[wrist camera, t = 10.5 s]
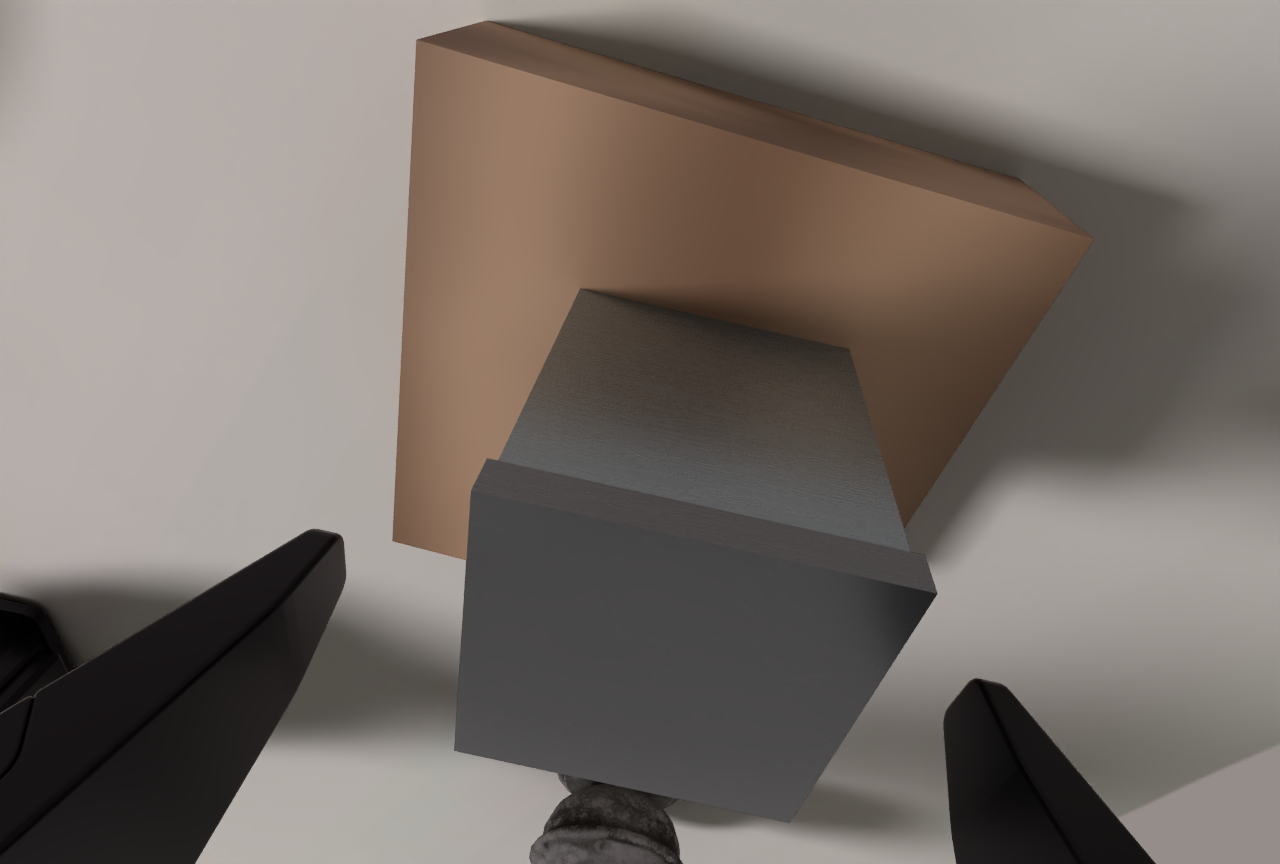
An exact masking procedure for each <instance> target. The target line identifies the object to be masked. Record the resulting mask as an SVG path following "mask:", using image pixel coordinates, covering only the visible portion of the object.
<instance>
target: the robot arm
mask: <svg viewBox="0 0 1280 864" xmlns="http://www.w3.org/2000/svg"><path fill="white" fill-rule="evenodd" d="M345 580H346V564H345V551H344V541H343V538H342V536H341V535H339V534H337V533H333V532H329V531H324V530H320V529H311V530H308V531H306V532H304V533H302V534H300V535H299V536H297V537H295V538H294V539H292V540H290V541H289V542H287V543H285V544H284V545H282V546H280V547H279V548H277V549H275V550H274V551H272V552H270V553H269V554H267V555H265V556H264V557H262V558H260V559H259V560H257V561H255V562H253V563H252V564H250V565H248V566H247V567H245V568H243V569H242V570H240V571H238V572H237V573H235V574H233V575H232V576H230V577H228V578H227V579H225V580H223V581H222V582H220V583H218V584H217V585H215V586H213V587H212V588H210V589H208V590H206V591H205V592H203V593H201V594H200V595H198V596H196V597H195V598H193V599H191V600H190V601H188V602H186V603H185V604H183V605H181V606H180V607H178V608H176V609H175V610H173V611H171V612H170V613H168V614H166V615H165V616H163V617H161V618H159V619H158V620H156V621H154V622H153V623H151V624H149V625H148V626H146V627H144V628H143V629H141V630H139V631H138V632H136V633H134V634H133V635H131V636H129V637H128V638H126V639H124V640H123V641H121V642H119V643H118V644H116V645H114V646H112V647H111V648H109V649H107V650H106V651H104V652H102V653H101V654H99V655H97V656H96V657H94V658H92V659H91V660H89V661H87V662H86V663H84V664H82V665H81V666H79V667H77V668H76V669H74V670H73V669H72V667H71V665H70V663H69V660H68V658H67V656H66V654H65V652H64V650H63V648H62V646H61V644H60V642H59V640H58V637H57V635H56V633H55V631H54V629H53V627H52V625H51V623H50V621H49V619H48V617H47V615H46V614H45V613H44V612H43V611H41V610H40V609H38V608H36V607H33V606H30V605H26V604H21V603H16V602H12V601H7V600H3V599H0V864H195V863H196V861H197V859H198V858H199V856H200V854H201V853H202V851H203V849H204V848H205V846H206V844H207V842H208V841H209V839H210V837H211V836H212V834H213V832H214V831H215V829H216V827H217V826H218V824H219V822H220V820H221V819H222V817H223V815H224V814H225V812H226V810H227V809H228V807H229V805H230V804H231V802H232V800H233V799H234V797H235V795H236V793H237V792H238V790H239V788H240V787H241V785H242V783H243V782H244V780H245V778H246V777H247V775H248V773H249V771H250V770H251V768H252V766H253V765H254V763H255V761H256V760H257V758H258V756H259V755H260V753H261V751H262V749H263V748H264V746H265V744H266V743H267V741H268V739H269V738H270V736H271V734H272V733H273V731H274V729H275V727H276V726H277V724H278V722H279V721H280V719H281V717H282V716H283V714H284V712H285V711H286V709H287V707H288V705H289V704H290V702H291V700H292V698H293V696H294V695H295V693H296V691H297V689H298V687H299V685H300V683H301V681H302V679H303V677H304V674H305V672H306V670H307V668H308V666H309V663H310V661H311V659H312V657H313V655H314V652H315V650H316V648H317V646H318V644H319V641H320V639H321V637H322V635H323V632H324V630H325V628H326V626H327V624H328V621H329V619H330V617H331V615H332V613H333V610H334V608H335V606H336V604H337V601H338V599H339V597H340V595H341V593H342V590H343V587H344V584H345ZM943 725H944V741H945V755H946V769H947V783H948V797H949V811H950V822H951V832H952V840H953V846H954V853H955V858H956V864H1156V863H1155V862H1154V861H1153V860H1152V859H1151V858H1150V856H1149V855H1148V854H1147V853H1146V851H1145V850H1144V849H1143V848H1142V847H1141V846H1140V844H1139V843H1138V842H1137V841H1136V840H1135V838H1134V837H1133V836H1132V835H1131V834H1130V833H1129V831H1128V830H1127V829H1126V828H1125V827H1124V825H1123V824H1122V823H1121V822H1120V821H1119V819H1118V818H1117V817H1116V816H1115V815H1114V813H1113V812H1112V811H1111V810H1110V809H1109V807H1108V806H1107V805H1106V804H1105V803H1104V802H1103V800H1102V799H1101V798H1100V797H1099V796H1098V794H1097V793H1096V792H1095V791H1094V790H1093V788H1092V787H1091V786H1090V785H1089V784H1088V783H1087V781H1086V780H1085V779H1084V778H1083V777H1082V775H1081V774H1080V773H1079V772H1078V771H1077V770H1076V768H1075V767H1074V766H1073V765H1072V764H1071V762H1070V761H1069V760H1068V759H1067V758H1066V756H1065V755H1064V754H1063V753H1062V752H1061V751H1060V749H1059V748H1058V747H1057V746H1056V745H1055V743H1054V742H1053V741H1052V740H1051V739H1050V737H1049V736H1048V735H1047V734H1046V733H1045V732H1044V730H1043V729H1042V728H1041V727H1040V726H1039V724H1038V723H1037V722H1036V721H1035V720H1034V718H1033V717H1032V716H1031V715H1030V714H1029V713H1028V711H1027V710H1026V709H1025V708H1024V707H1023V705H1022V704H1021V703H1020V702H1019V701H1018V699H1017V698H1016V697H1015V696H1014V695H1013V694H1012V692H1011V691H1010V690H1009V689H1008V688H1007V687H1006V686H1004V685H1002V684H1000V683H997V682H992V681H988V680H983V679H978V678H975V679H973V680H971V681H969V682H968V683H967V685H966V686H965V687H964V688H963V690H962V691H961V692H960V693H959V695H958V696H957V697H956V698H955V700H954V701H953V702H952V703H951V705H950V706H949V707H948V709H947V711H946V713H945V716H944V724H943Z"/></svg>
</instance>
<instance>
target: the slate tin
mask: <svg viewBox="0 0 1280 864" xmlns="http://www.w3.org/2000/svg"><path fill="white" fill-rule="evenodd" d="M936 595H937V591H936V587H935V584H934V581H933V578H932V575H931V572H930V569H929V566H928V563H927V560H926V557H925V555H923V554H918V553H914V552H911V551H910V547H909V544H908V541H907V537H906V534H905V531H904V528H903V524H902V521H901V518H900V514H899V511H898V508H897V504H896V501H895V498H894V495H893V491H892V488H891V485H890V481H889V478H888V475H887V471H886V468H885V465H884V462H883V458H882V455H881V452H880V448H879V445H878V442H877V438H876V435H875V432H874V429H873V425H872V422H871V419H870V415H869V412H868V409H867V405H866V402H865V399H864V396H863V392H862V389H861V386H860V382H859V379H858V376H857V372H856V369H855V366H854V363H853V359H852V356H851V353H850V349H848V348H843V347H839V346H834V345H830V344H825V343H821V342H817V341H812V340H808V339H803V338H799V337H794V336H790V335H786V334H781V333H777V332H772V331H768V330H763V329H759V328H754V327H750V326H746V325H741V324H737V323H732V322H728V321H723V320H719V319H715V318H710V317H706V316H701V315H697V314H692V313H688V312H683V311H679V310H675V309H670V308H666V307H661V306H657V305H652V304H648V303H643V302H639V301H635V300H630V299H626V298H621V297H617V296H612V295H608V294H604V293H599V292H595V291H590V290H586V289H581V288H580V290H579V292H578V294H577V296H576V298H575V300H574V302H573V304H572V306H571V308H570V311H569V313H568V315H567V317H566V319H565V321H564V323H563V325H562V327H561V329H560V332H559V334H558V336H557V338H556V340H555V342H554V344H553V346H552V348H551V350H550V352H549V355H548V357H547V359H546V361H545V363H544V365H543V367H542V369H541V371H540V373H539V376H538V378H537V380H536V382H535V384H534V386H533V388H532V390H531V392H530V394H529V397H528V399H527V401H526V403H525V405H524V407H523V409H522V411H521V413H520V415H519V417H518V420H517V422H516V424H515V426H514V428H513V430H512V432H511V434H510V436H509V438H508V441H507V443H506V445H505V447H504V449H503V451H502V453H501V455H500V457H499V459H498V460H494V459H489V458H487V459H486V461H485V463H484V465H483V467H482V469H481V471H480V473H479V475H478V477H477V479H476V481H475V483H474V485H473V487H472V489H471V496H470V511H469V527H468V543H467V558H466V574H465V590H464V605H463V621H462V637H461V652H460V668H459V684H458V699H457V715H456V731H455V746H454V751H458V752H462V753H467V754H472V755H476V756H481V757H486V758H490V759H495V760H500V761H504V762H509V763H513V764H518V765H523V766H527V767H532V768H537V769H541V770H546V771H551V772H555V773H560V774H565V775H569V776H574V777H579V778H583V779H588V780H592V781H597V782H602V783H606V784H611V785H616V786H620V787H625V788H630V789H634V790H639V791H644V792H648V793H653V794H658V795H662V796H667V797H671V798H676V799H681V800H685V801H690V802H695V803H699V804H704V805H709V806H713V807H718V808H723V809H727V810H732V811H737V812H741V813H746V814H751V815H755V816H760V817H764V818H769V819H774V820H778V821H783V822H788V823H790V822H791V820H792V819H793V817H794V816H795V814H796V812H797V811H798V809H799V808H800V806H801V805H802V803H803V802H804V800H805V798H806V797H807V795H808V794H809V792H810V791H811V789H812V788H813V786H814V785H815V783H816V781H817V780H818V778H819V777H820V775H821V774H822V772H823V771H824V769H825V767H826V766H827V764H828V763H829V761H830V760H831V758H832V757H833V755H834V753H835V752H836V750H837V749H838V747H839V746H840V744H841V743H842V741H843V740H844V738H845V736H846V735H847V733H848V732H849V730H850V729H851V727H852V726H853V724H854V722H855V721H856V719H857V718H858V716H859V715H860V713H861V712H862V710H863V708H864V707H865V705H866V704H867V702H868V701H869V699H870V698H871V696H872V695H873V693H874V691H875V690H876V688H877V687H878V685H879V684H880V682H881V681H882V679H883V677H884V676H885V674H886V673H887V671H888V670H889V668H890V667H891V665H892V663H893V662H894V660H895V659H896V657H897V656H898V654H899V653H900V651H901V650H902V648H903V646H904V645H905V643H906V642H907V640H908V639H909V637H910V636H911V634H912V632H913V631H914V629H915V628H916V626H917V625H918V623H919V622H920V620H921V618H922V617H923V615H924V614H925V612H926V611H927V609H928V608H929V606H930V605H931V603H932V601H933V600H934V598H935V597H936Z"/></svg>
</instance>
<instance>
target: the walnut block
mask: <svg viewBox="0 0 1280 864" xmlns="http://www.w3.org/2000/svg"><path fill="white" fill-rule="evenodd" d="M1093 241H1094V238H1092V237H1091V236H1090V235H1089V234H1087V233H1086V232H1085V231H1084V230H1082V229H1081V228H1080V227H1079V226H1077V225H1076V224H1075V223H1074V222H1072V221H1071V220H1070V219H1069V218H1067V217H1066V216H1065V215H1064V214H1062V213H1061V212H1060V211H1059V210H1057V209H1056V208H1055V207H1054V206H1052V205H1051V204H1050V203H1049V202H1047V201H1046V200H1045V199H1044V198H1042V197H1041V196H1040V195H1039V194H1037V193H1036V192H1035V191H1034V190H1032V189H1031V188H1030V187H1029V186H1027V185H1026V184H1025V183H1024V182H1022V181H1021V180H1020V179H1017V178H1013V177H1010V176H1007V175H1003V174H1000V173H997V172H993V171H990V170H986V169H983V168H980V167H976V166H973V165H970V164H966V163H963V162H960V161H956V160H953V159H949V158H946V157H943V156H939V155H936V154H933V153H929V152H926V151H923V150H919V149H916V148H912V147H909V146H906V145H902V144H899V143H896V142H892V141H889V140H885V139H882V138H879V137H875V136H872V135H869V134H865V133H862V132H859V131H855V130H852V129H848V128H845V127H842V126H838V125H835V124H832V123H828V122H825V121H822V120H818V119H815V118H811V117H808V116H805V115H801V114H798V113H795V112H791V111H788V110H785V109H781V108H778V107H774V106H771V105H768V104H764V103H761V102H758V101H754V100H751V99H747V98H744V97H741V96H737V95H734V94H731V93H727V92H724V91H721V90H717V89H714V88H710V87H707V86H704V85H700V84H697V83H694V82H690V81H687V80H684V79H680V78H677V77H673V76H670V75H667V74H663V73H660V72H657V71H653V70H650V69H647V68H643V67H640V66H636V65H633V64H630V63H626V62H623V61H620V60H616V59H613V58H609V57H606V56H603V55H599V54H596V53H593V52H589V51H586V50H583V49H579V48H576V47H572V46H569V45H566V44H562V43H559V42H556V41H552V40H549V39H546V38H542V37H539V36H535V35H532V34H529V33H525V32H522V31H519V30H515V29H512V28H509V27H505V26H502V25H498V24H495V23H492V22H488V21H483V22H480V23H476V24H472V25H469V26H465V27H461V28H458V29H454V30H450V31H447V32H443V33H439V34H436V35H432V36H429V37H425V38H421V39H418V40H417V41H416V62H415V83H414V103H413V124H412V145H411V166H410V187H409V208H408V229H407V249H406V270H405V291H404V312H403V333H402V354H401V374H400V395H399V416H398V437H397V458H396V479H395V500H394V520H393V541H394V542H398V543H402V544H406V545H410V546H413V547H417V548H421V549H425V550H429V551H433V552H437V553H441V554H444V555H448V556H452V557H456V558H460V559H464V560H466V558H467V543H468V527H469V511H470V496H471V489H472V487H473V485H474V483H475V481H476V479H477V477H478V475H479V473H480V471H481V469H482V467H483V465H484V463H485V461H486V459H487V458H489V459H494V460H498V459H499V457H500V455H501V453H502V451H503V449H504V447H505V445H506V443H507V441H508V438H509V436H510V434H511V432H512V430H513V428H514V426H515V424H516V422H517V420H518V417H519V415H520V413H521V411H522V409H523V407H524V405H525V403H526V401H527V399H528V397H529V394H530V392H531V390H532V388H533V386H534V384H535V382H536V380H537V378H538V376H539V373H540V371H541V369H542V367H543V365H544V363H545V361H546V359H547V357H548V355H549V352H550V350H551V348H552V346H553V344H554V342H555V340H556V338H557V336H558V334H559V332H560V329H561V327H562V325H563V323H564V321H565V319H566V317H567V315H568V313H569V311H570V308H571V306H572V304H573V302H574V300H575V298H576V296H577V294H578V292H579V290H580V288H581V289H586V290H590V291H595V292H599V293H604V294H608V295H612V296H617V297H621V298H626V299H630V300H635V301H639V302H643V303H648V304H652V305H657V306H661V307H666V308H670V309H675V310H679V311H683V312H688V313H692V314H697V315H701V316H706V317H710V318H715V319H719V320H723V321H728V322H732V323H737V324H741V325H746V326H750V327H754V328H759V329H763V330H768V331H772V332H777V333H781V334H786V335H790V336H794V337H799V338H803V339H808V340H812V341H817V342H821V343H825V344H830V345H834V346H839V347H843V348H848V349H850V353H851V356H852V359H853V363H854V366H855V369H856V372H857V376H858V379H859V382H860V386H861V389H862V392H863V396H864V399H865V402H866V405H867V409H868V412H869V415H870V419H871V422H872V425H873V429H874V432H875V435H876V438H877V442H878V445H879V448H880V452H881V455H882V458H883V462H884V465H885V468H886V471H887V475H888V478H889V481H890V485H891V488H892V491H893V495H894V498H895V501H896V504H897V508H898V511H899V514H900V518H901V521H902V524H903V528H905V527H906V525H907V523H908V522H909V520H910V519H911V517H912V516H913V514H914V513H915V511H916V510H917V508H918V507H919V505H920V504H921V502H922V501H923V499H924V498H925V496H926V495H927V493H928V492H929V490H930V489H931V487H932V485H933V484H934V482H935V481H936V479H937V478H938V476H939V475H940V473H941V472H942V470H943V469H944V467H945V466H946V464H947V463H948V461H949V460H950V458H951V457H952V455H953V454H954V452H955V450H956V449H957V447H958V446H959V444H960V443H961V441H962V440H963V438H964V437H965V435H966V434H967V432H968V431H969V429H970V428H971V426H972V425H973V423H974V422H975V420H976V419H977V417H978V416H979V414H980V412H981V411H982V409H983V408H984V406H985V405H986V403H987V402H988V400H989V399H990V397H991V396H992V394H993V393H994V391H995V390H996V388H997V387H998V385H999V384H1000V382H1001V381H1002V379H1003V378H1004V376H1005V374H1006V373H1007V371H1008V370H1009V368H1010V367H1011V365H1012V364H1013V362H1014V361H1015V359H1016V358H1017V356H1018V355H1019V353H1020V352H1021V350H1022V349H1023V347H1024V346H1025V344H1026V343H1027V341H1028V340H1029V338H1030V336H1031V335H1032V333H1033V332H1034V330H1035V329H1036V327H1037V326H1038V324H1039V323H1040V321H1041V320H1042V318H1043V317H1044V315H1045V314H1046V312H1047V311H1048V309H1049V308H1050V306H1051V305H1052V303H1053V302H1054V300H1055V298H1056V297H1057V295H1058V294H1059V292H1060V291H1061V289H1062V288H1063V286H1064V285H1065V283H1066V282H1067V280H1068V279H1069V277H1070V276H1071V274H1072V273H1073V271H1074V270H1075V268H1076V267H1077V265H1078V264H1079V262H1080V260H1081V259H1082V257H1083V256H1084V254H1085V253H1086V251H1087V250H1088V248H1089V247H1090V245H1091V244H1092V242H1093Z"/></svg>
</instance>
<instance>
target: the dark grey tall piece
mask: <svg viewBox="0 0 1280 864" xmlns="http://www.w3.org/2000/svg"><path fill="white" fill-rule="evenodd" d="M558 777H559V780H560V781H561V782H562V784H563V785H564V786H565V788H566V789H567V790H568V791H569V792H570V793H572V794H571V795H569V796H568V797H566V798H565V799H563V800H562V801H561V802H560V803H559V805H558V806H557V807H556V809H555V810H554V812H553V813H552V815H551V816H550V818H549V819H548V821H547V822H546V824H545V827H544V832H543V835H542V836H540V837H539V838H538V839H537V840H536V841H535V843H534V844H533V845H532V846H531V851H530V857H529V859H530V862H531V864H683V863H682V862H681V860H680V859H679V858H680V849H679V843H678V839H677V836H676V832H675V829H674V826H673V823H672V821H671V820H670V818H669V816H668V815H667V814H666V812H665V811H664V810H663V808H665V807H667V806H669V805H672V804H673V803H674V802H675V801H676V800H678V799H676V798H671V797H667V796H662V795H658V794H653V793H648V792H644V791H639V790H634V789H630V788H625V787H620V786H616V785H611V784H606V783H602V782H597V781H592V780H588V779H583V778H579V777H574V776H569V775H565V774H560V773H558Z"/></svg>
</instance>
